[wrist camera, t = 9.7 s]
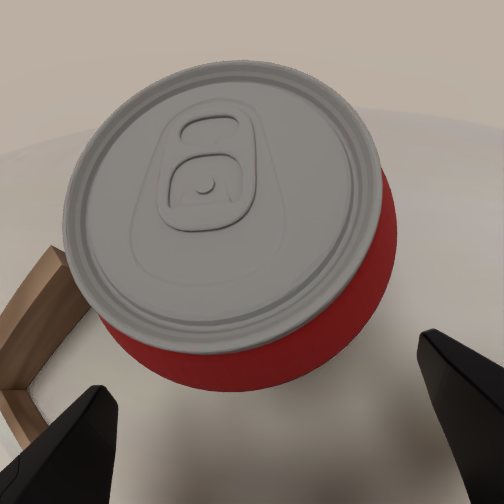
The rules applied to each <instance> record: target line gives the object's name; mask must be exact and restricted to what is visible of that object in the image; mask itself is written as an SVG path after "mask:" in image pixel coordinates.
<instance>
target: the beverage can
mask: <svg viewBox="0 0 504 504" xmlns="http://www.w3.org/2000/svg"><path fill="white" fill-rule="evenodd" d="M62 230H63V243H64V249H65V254H66V258H67V262H68V265H69V268H70V271H71V273H72V276H73V278H74V280H75V283H76V284H77V286H78V288H79V289H80V291H81V293H82V294H83V296H84V297H85V299H86V300H87V302H88V303H89V304H90V306H91V307H92V308H93V309H94V310H95V311H96V312H97V313H98V315H99V317H100V319H101V320H102V322H103V324H104V325H105V327H106V328H107V330H108V331H109V333H110V334H111V335H112V336H113V338H114V339H115V340H116V341H117V342H118V343H119V344H120V346H121V347H122V348H123V349H124V350H125V351H126V352H127V353H128V354H130V355H131V356H132V357H133V358H134V359H136V360H137V361H138V362H139V363H141V364H142V365H144V366H145V367H147V368H148V369H149V370H151V371H153V372H155V373H156V374H158V375H160V376H162V377H164V378H166V379H169V380H171V381H173V382H176V383H178V384H182V385H185V386H188V387H192V388H196V389H202V390H207V391H217V392H245V391H253V390H260V389H264V388H269V387H274V386H277V385H280V384H283V383H286V382H289V381H292V380H294V379H296V378H299V377H301V376H303V375H305V374H307V373H309V372H311V371H313V370H314V369H316V368H318V367H320V366H321V365H323V364H324V363H326V362H327V361H328V360H330V359H331V358H333V357H334V356H335V355H337V354H338V353H339V352H340V351H341V350H342V349H344V348H345V347H346V346H347V345H348V344H349V343H350V342H351V341H352V340H353V339H354V338H355V337H356V336H357V335H358V333H359V332H360V331H361V330H362V328H363V327H364V326H365V325H366V323H367V322H368V321H369V319H370V318H371V316H372V315H373V313H374V311H375V310H376V308H377V307H378V305H379V303H380V301H381V299H382V297H383V295H384V293H385V290H386V287H387V285H388V282H389V279H390V276H391V273H392V269H393V265H394V260H395V254H396V246H397V220H396V213H395V206H394V201H393V197H392V193H391V189H390V187H389V184H388V181H387V178H386V176H385V174H384V172H383V170H382V168H381V165H380V160H379V156H378V153H377V150H376V147H375V144H374V142H373V139H372V137H371V134H370V133H369V131H368V129H367V127H366V126H365V124H364V122H363V121H362V119H361V118H360V116H359V115H358V113H357V112H356V111H355V110H354V109H353V108H352V106H351V105H350V104H349V103H348V102H347V101H346V100H345V99H344V98H343V97H341V96H340V95H339V94H338V93H337V92H336V91H334V90H333V89H332V88H330V87H329V86H327V85H326V84H324V83H322V82H321V81H319V80H318V79H316V78H314V77H312V76H310V75H308V74H306V73H303V72H301V71H298V70H296V69H293V68H289V67H286V66H282V65H278V64H274V63H269V62H261V61H249V60H237V61H222V62H214V63H209V64H203V65H199V66H195V67H192V68H189V69H185V70H182V71H179V72H177V73H174V74H172V75H169V76H167V77H165V78H163V79H161V80H159V81H157V82H155V83H153V84H151V85H149V86H148V87H146V88H144V89H143V90H141V91H140V92H138V93H137V94H135V95H134V96H133V97H131V98H130V99H129V100H127V101H126V102H125V103H124V104H122V105H121V106H120V107H119V108H118V109H117V110H116V111H115V112H114V113H113V114H112V115H111V116H110V117H109V118H108V119H107V120H106V121H105V122H104V123H103V124H102V125H101V126H100V128H99V129H98V130H97V131H96V133H95V134H94V135H93V137H92V138H91V139H90V141H89V142H88V144H87V146H86V147H85V149H84V151H83V153H82V154H81V156H80V158H79V160H78V162H77V164H76V166H75V169H74V171H73V174H72V176H71V179H70V182H69V185H68V189H67V193H66V197H65V201H64V209H63V222H62Z"/></svg>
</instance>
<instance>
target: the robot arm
mask: <svg viewBox="0 0 504 504" xmlns="http://www.w3.org/2000/svg"><path fill="white" fill-rule="evenodd" d="M417 360H418V364H419V366H420V369H421V372H422V375H423V378H424V381H425V384H426V387H427V390H428V393H429V397H430V400H431V403H432V406H433V408H434V410H435V413H436V415H437V417H438V420H439V422H440V424H441V427H442V429H443V431H444V434H445V436H446V438H447V441H448V443H449V446H450V448H451V451H452V453H453V456H454V458H455V461H456V463H457V466H458V469H459V471H460V474H461V477H462V479H463V482H464V485H465V488H466V490H467V493H468V496H469V499H470V502H471V504H504V368H503V367H501V366H500V365H498V364H496V363H495V362H493V361H491V360H489V359H488V358H486V357H484V356H482V355H481V354H479V353H477V352H475V351H474V350H472V349H470V348H469V347H467V346H465V345H463V344H461V343H460V342H458V341H456V340H454V339H453V338H451V337H449V336H447V335H446V334H444V333H442V332H440V331H439V330H437V329H429V330H426V331H423V332H421V334H420V336H419V343H418V349H417ZM117 421H118V404H117V402H116V400H115V399H114V398H113V396H112V395H111V394H110V392H109V391H108V390H107V388H106V387H105V386H103V385H93V386H91V387H89V388H88V389H87V390H86V391H85V392H84V393H83V394H82V395H81V396H80V397H79V398H78V399H77V400H76V401H75V402H74V403H73V404H71V405H70V406H69V407H68V408H67V409H66V410H65V411H64V412H63V413H62V414H61V415H60V416H59V417H58V418H57V419H56V420H55V421H54V422H53V423H51V424H50V425H49V426H48V427H47V428H46V429H45V430H44V431H43V432H42V433H41V434H40V435H39V436H38V437H37V438H36V439H35V440H34V441H33V442H32V443H31V444H30V445H29V446H27V447H26V448H25V449H24V450H23V451H22V452H21V453H20V455H18V456H17V457H16V458H15V459H14V460H13V461H12V462H11V463H10V464H9V465H8V466H7V467H6V468H4V469H3V470H2V471H1V472H0V504H109V500H110V491H111V483H112V475H113V468H114V461H115V453H116V439H117Z"/></svg>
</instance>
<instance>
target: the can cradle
mask: <svg viewBox="0 0 504 504" xmlns="http://www.w3.org/2000/svg"><path fill="white" fill-rule="evenodd" d="M90 307H91V306H90V304H89V303H88V302H87V300H86V299H85V297H84V296H83V294H82V293H81V291H80V289H79V288H78V286H77V284H76V283H75V280H74V278H73V276H72V273H71V271H70V268H69V265H68V262H67V258H66V254H65V252H63V251H61V250H59V249H57V248H56V247H54V246H52V245H50V247H49V248H48V249H47V251H46V252H45V253H44V254H43V256H42V257H41V258H40V260H39V261H38V262H37V264H36V265H35V266H34V268H33V269H32V270H31V272H30V273H29V274H28V276H27V277H26V278H25V280H24V281H23V283H22V284H21V285H20V287H19V288H18V290H17V291H16V293H15V294H14V296H13V297H12V299H11V300H10V302H9V303H8V305H7V306H6V308H5V309H4V311H3V312H2V314H1V315H0V411H1V413H2V414H3V416H4V418H5V420H6V422H7V424H8V426H9V427H10V429H11V431H12V433H13V434H14V436H15V438H16V440H17V441H18V443H19V444H20V446H21V448H22V449H23V450H24V449H25V448H26V447H27V446H29V445H30V444H31V443H32V442H33V441H34V440H35V439H36V438H37V437H38V436H39V435H40V434H41V433H42V432H43V431H44V430H45V429H46V428H47V427H48V426H47V424H46V423H45V421H44V420H43V418H42V416H41V415H40V413H39V411H38V410H37V408H36V406H35V405H34V403H33V401H32V400H31V398H30V396H29V394H28V393H27V391H26V388H27V387H28V385H29V384H30V383H31V381H32V380H33V379H34V377H35V376H36V375H37V373H38V372H39V371H40V369H41V368H42V367H43V365H44V364H45V363H46V361H47V360H48V359H49V357H50V356H51V355H52V354H53V352H54V351H55V350H56V349H57V347H58V346H59V345H60V343H61V342H62V341H63V340H64V338H65V337H66V336H67V335H68V333H69V332H70V331H71V330H72V329H73V327H74V326H75V325H76V324H77V322H78V321H79V320H80V319H81V318H82V316H83V315H84V314H85V313H86V312H87V311H88V309H89V308H90Z"/></svg>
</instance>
